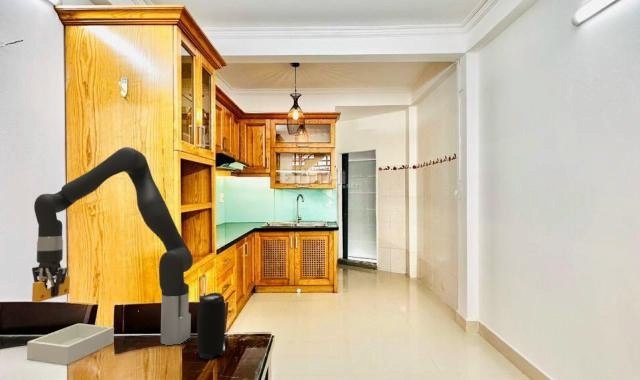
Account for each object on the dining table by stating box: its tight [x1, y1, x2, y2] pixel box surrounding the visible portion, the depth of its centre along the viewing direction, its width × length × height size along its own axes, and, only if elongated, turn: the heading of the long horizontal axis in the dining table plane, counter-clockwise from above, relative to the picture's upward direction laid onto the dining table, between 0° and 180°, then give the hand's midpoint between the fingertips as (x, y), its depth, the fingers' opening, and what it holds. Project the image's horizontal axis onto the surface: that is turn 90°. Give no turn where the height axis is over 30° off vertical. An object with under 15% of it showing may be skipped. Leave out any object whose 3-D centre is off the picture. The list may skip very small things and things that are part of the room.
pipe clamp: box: [31, 275, 71, 303], centre depth 129 cm, size 12×4×6 cm, turn 168°
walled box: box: [26, 323, 115, 366], centre depth 121 cm, size 16×18×6 cm
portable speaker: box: [196, 292, 226, 360], centre depth 119 cm, size 9×9×20 cm
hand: (48, 295), depth 129 cm, fingers closed on pipe clamp, 4 cm apart
